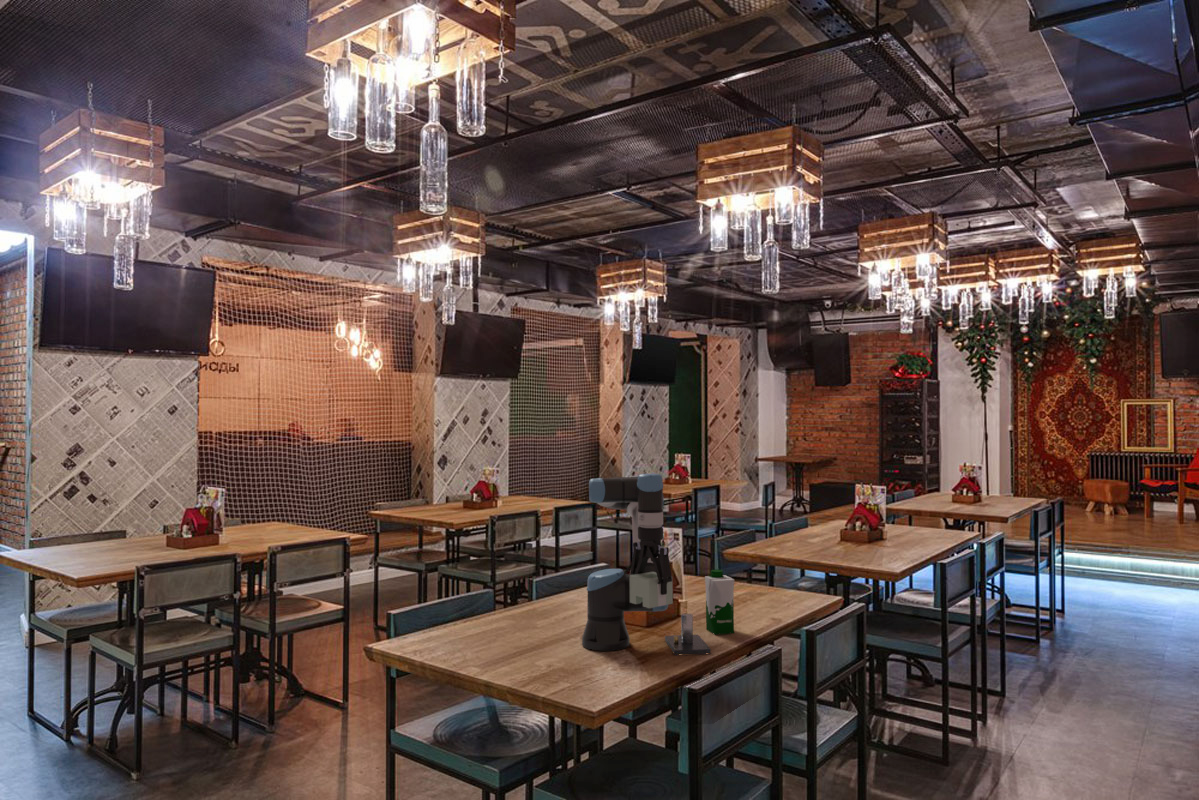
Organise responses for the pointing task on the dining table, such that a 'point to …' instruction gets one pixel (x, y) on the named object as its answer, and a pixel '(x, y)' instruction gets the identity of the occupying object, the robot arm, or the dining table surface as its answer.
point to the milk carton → (719, 603)
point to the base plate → (688, 647)
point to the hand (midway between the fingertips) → (651, 602)
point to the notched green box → (647, 590)
